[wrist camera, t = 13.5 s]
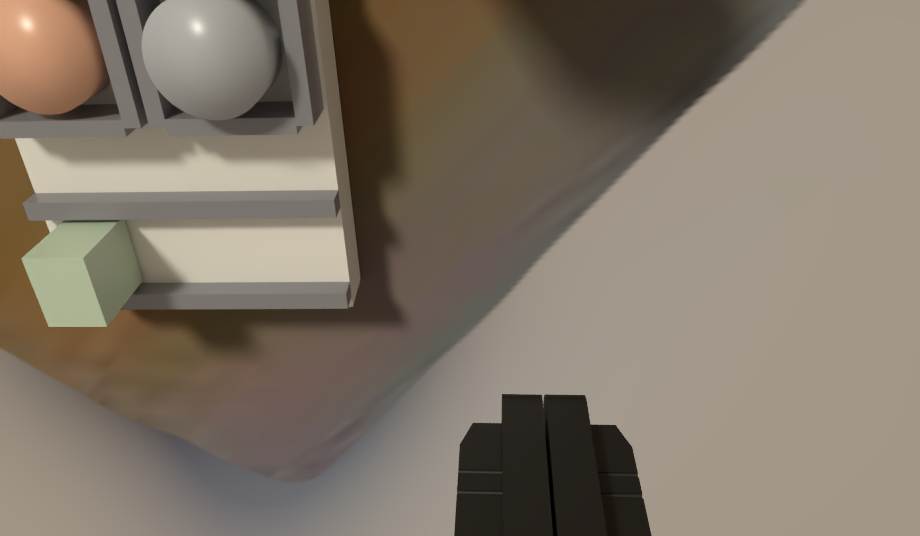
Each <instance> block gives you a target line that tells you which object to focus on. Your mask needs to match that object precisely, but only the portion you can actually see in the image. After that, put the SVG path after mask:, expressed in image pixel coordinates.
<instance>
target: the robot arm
mask: <svg viewBox="0 0 920 536" xmlns="http://www.w3.org/2000/svg"><path fill="white" fill-rule="evenodd" d="M455 536H651V532H650V527H649V523H648V518H647V513H646V509H645V504H644V500H643V499H642V491H641V486H640V481H639V478H638V472H637V468H636V463H635V458H634V454H633V449H632V446H631V445H630V444H629V443H628V441H627V440H626V439H625V438H624V436H623V435H622V433H621V432H620V431H619V429H618V428H617V427H616V425H590V420H589V413H588V407H587V401H586V397H585V395H545V396H544V404H543V401H542V395H519V394H518V395H516V394H502V423H501V424H500V423H473V424H472V425H471V427H470V429H469V431H468V432H467V434H466V435H465V437H464V439H463V440H462V442H461V444H460V454H459V472H458V486H457V502H456V518H455Z"/></svg>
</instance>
